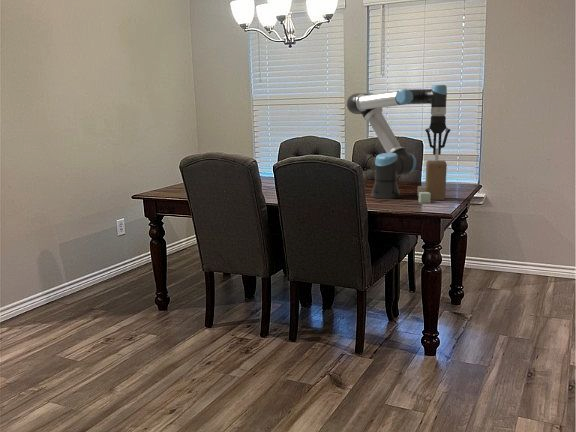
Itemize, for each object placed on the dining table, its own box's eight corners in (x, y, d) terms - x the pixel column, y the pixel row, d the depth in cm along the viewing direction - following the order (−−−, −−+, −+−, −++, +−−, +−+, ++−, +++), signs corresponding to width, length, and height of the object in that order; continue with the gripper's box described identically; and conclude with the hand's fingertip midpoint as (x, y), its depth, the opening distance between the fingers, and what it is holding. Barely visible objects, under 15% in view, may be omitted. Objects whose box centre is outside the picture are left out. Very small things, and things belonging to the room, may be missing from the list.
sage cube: (420, 203, 292) (420, 193, 291) (418, 201, 297) (418, 192, 296) (430, 203, 292) (430, 193, 291) (428, 201, 297) (428, 191, 296)
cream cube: (417, 196, 312) (417, 187, 311) (418, 194, 317) (418, 185, 316) (426, 196, 311) (426, 187, 310) (427, 195, 315) (427, 186, 314)
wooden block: (445, 200, 297) (446, 162, 293) (425, 200, 299) (426, 162, 295) (443, 197, 307) (445, 160, 303) (424, 197, 309) (426, 160, 305)
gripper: (425, 115, 291) (424, 161, 296) (452, 115, 289) (450, 161, 294) (424, 115, 299) (423, 160, 304) (450, 115, 296) (448, 160, 301)
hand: (436, 161), depth 299 cm, fingers closed
